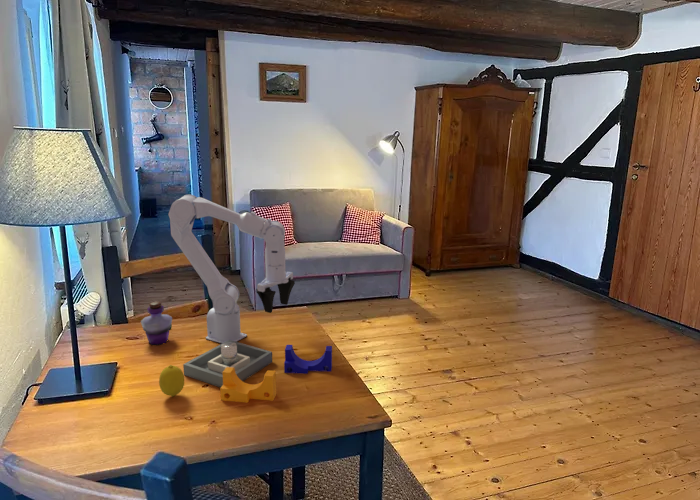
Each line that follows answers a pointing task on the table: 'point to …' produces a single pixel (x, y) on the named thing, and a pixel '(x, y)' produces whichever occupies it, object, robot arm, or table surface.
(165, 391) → the lemon
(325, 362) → the blue cradle block
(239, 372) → the walled tray
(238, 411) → the table surface
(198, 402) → the table surface
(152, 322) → the potion bottle
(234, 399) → the pipe clamp
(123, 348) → the table surface
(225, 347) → the metal peg
